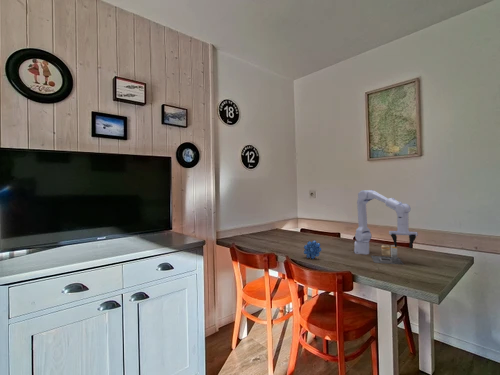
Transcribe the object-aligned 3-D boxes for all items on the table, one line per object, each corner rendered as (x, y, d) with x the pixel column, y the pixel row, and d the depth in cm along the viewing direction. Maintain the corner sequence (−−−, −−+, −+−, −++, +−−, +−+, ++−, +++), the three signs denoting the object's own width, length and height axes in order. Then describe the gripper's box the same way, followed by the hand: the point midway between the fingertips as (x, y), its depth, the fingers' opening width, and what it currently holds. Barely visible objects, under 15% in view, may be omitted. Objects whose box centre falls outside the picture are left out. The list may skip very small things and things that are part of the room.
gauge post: (391, 258, 164) (391, 246, 164) (390, 257, 167) (390, 244, 167) (397, 259, 163) (397, 246, 163) (396, 257, 166) (396, 245, 166)
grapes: (323, 258, 172) (322, 239, 171) (320, 260, 166) (320, 241, 165) (305, 256, 177) (305, 238, 177) (302, 258, 171) (302, 240, 171)
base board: (374, 264, 157) (374, 260, 157) (370, 257, 172) (370, 254, 172) (404, 266, 152) (404, 263, 152) (398, 259, 167) (398, 255, 167)
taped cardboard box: (382, 255, 158) (382, 246, 158) (381, 253, 162) (381, 245, 162) (389, 255, 157) (389, 247, 157) (388, 253, 161) (388, 245, 161)
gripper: (390, 224, 153) (390, 248, 153) (419, 225, 148) (419, 249, 148) (388, 223, 160) (388, 245, 160) (415, 223, 155) (415, 246, 155)
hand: (403, 247), depth 155 cm, fingers open, 7 cm apart
